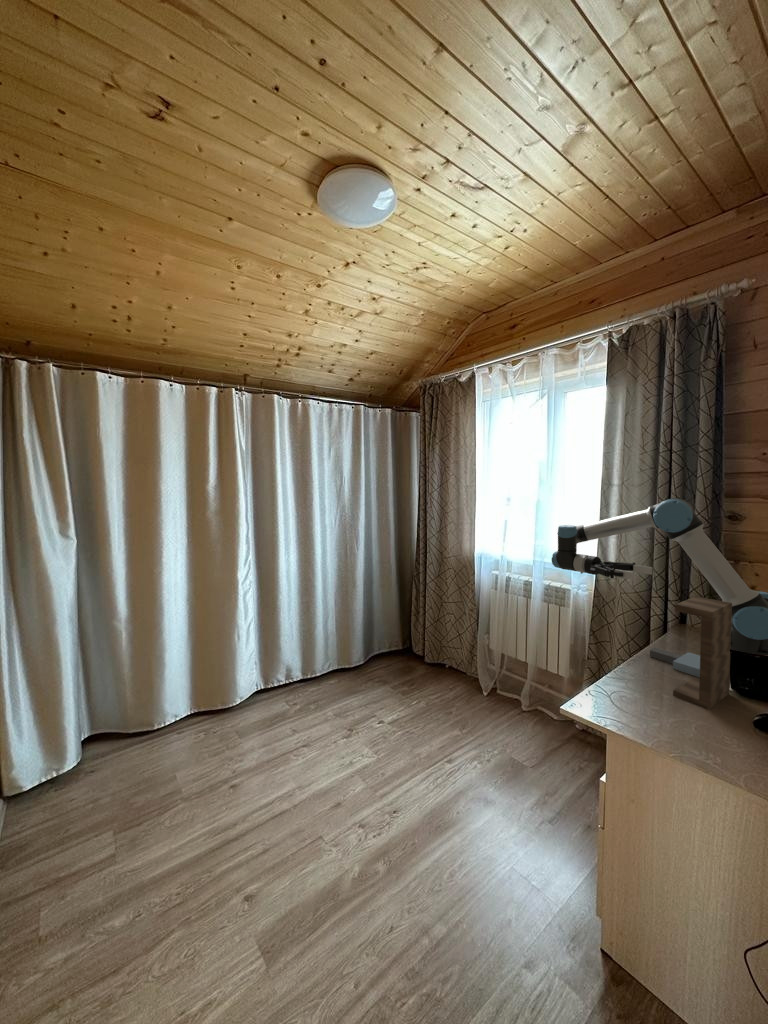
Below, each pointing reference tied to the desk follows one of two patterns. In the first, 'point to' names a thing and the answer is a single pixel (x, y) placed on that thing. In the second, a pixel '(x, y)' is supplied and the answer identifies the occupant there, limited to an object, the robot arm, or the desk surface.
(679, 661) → the grey toy mallet
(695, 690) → the shelf stand
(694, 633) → the desk surface
